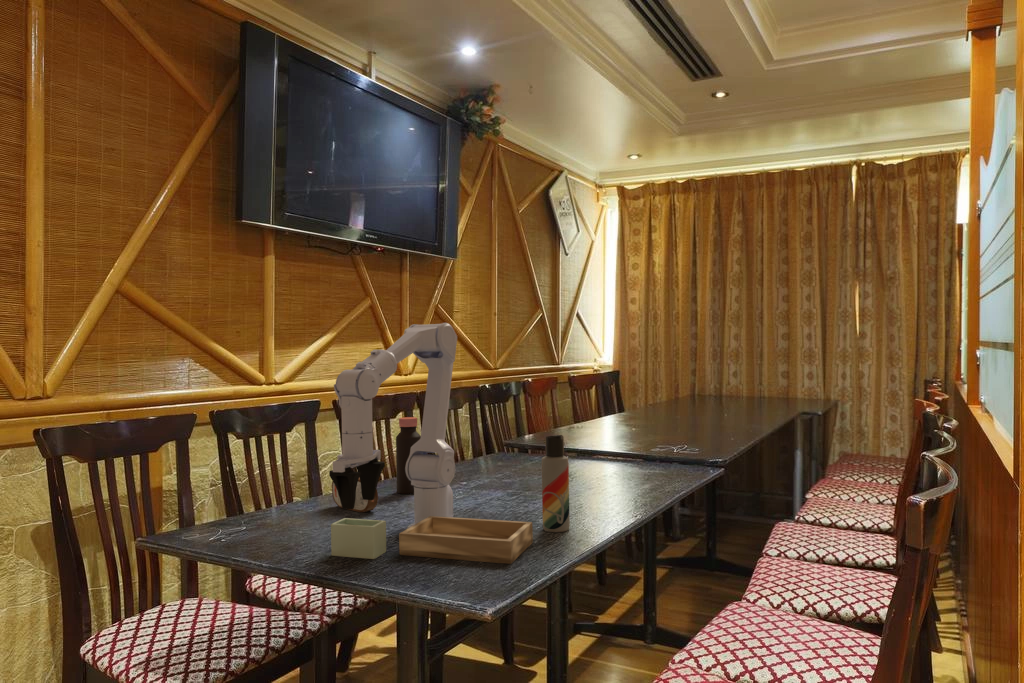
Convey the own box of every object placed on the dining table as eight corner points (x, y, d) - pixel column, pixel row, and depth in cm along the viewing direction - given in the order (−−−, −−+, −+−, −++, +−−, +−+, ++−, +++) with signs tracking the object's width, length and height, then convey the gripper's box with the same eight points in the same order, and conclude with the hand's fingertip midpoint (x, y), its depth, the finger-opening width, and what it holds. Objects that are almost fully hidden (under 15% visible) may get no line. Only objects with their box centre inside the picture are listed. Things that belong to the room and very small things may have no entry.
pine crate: (430, 535, 144) (430, 515, 144) (532, 542, 137) (532, 522, 137) (399, 554, 130) (399, 533, 130) (511, 563, 124) (510, 541, 124)
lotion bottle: (550, 533, 143) (548, 436, 143) (538, 527, 148) (536, 433, 149) (574, 530, 145) (572, 434, 146) (561, 524, 151) (560, 432, 151)
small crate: (344, 548, 135) (344, 518, 136) (386, 552, 133) (385, 520, 133) (331, 556, 131) (330, 524, 131) (373, 559, 128) (373, 527, 128)
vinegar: (419, 488, 192) (418, 416, 193) (424, 493, 186) (422, 418, 186) (394, 490, 190) (393, 417, 190) (398, 495, 184) (397, 419, 184)
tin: (379, 512, 165) (378, 477, 165) (368, 515, 162) (368, 479, 163) (340, 504, 174) (339, 471, 174) (329, 507, 172) (329, 473, 172)
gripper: (358, 427, 140) (359, 495, 140) (317, 436, 126) (318, 511, 126) (389, 428, 138) (390, 496, 138) (351, 437, 124) (353, 513, 124)
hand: (358, 504), depth 132 cm, fingers open, 7 cm apart
